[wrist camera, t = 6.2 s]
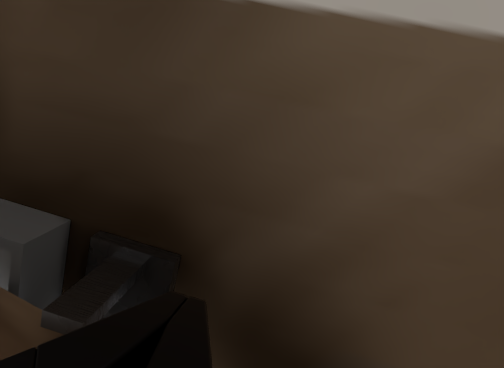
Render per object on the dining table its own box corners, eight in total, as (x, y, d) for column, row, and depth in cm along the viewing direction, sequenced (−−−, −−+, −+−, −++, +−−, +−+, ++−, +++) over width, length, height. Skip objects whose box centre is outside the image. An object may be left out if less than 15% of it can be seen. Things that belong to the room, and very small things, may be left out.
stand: (148, 406, 24) (85, 524, 18) (77, 381, 25) (-10, 487, 18) (181, 255, 22) (121, 327, 15) (100, 230, 22) (7, 289, 15)
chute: (229, 512, 18) (159, 674, 13) (-22, 351, 24) (-146, 419, 18) (298, 292, 15) (244, 387, 10) (-10, 162, 20) (-155, 177, 15)
